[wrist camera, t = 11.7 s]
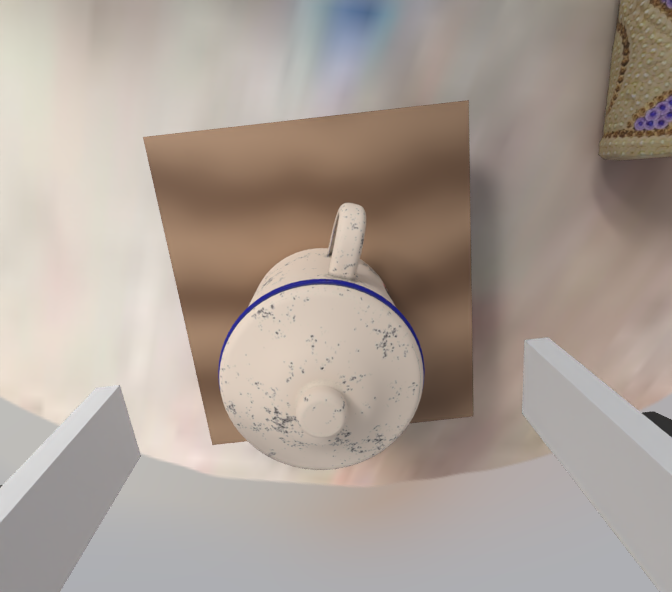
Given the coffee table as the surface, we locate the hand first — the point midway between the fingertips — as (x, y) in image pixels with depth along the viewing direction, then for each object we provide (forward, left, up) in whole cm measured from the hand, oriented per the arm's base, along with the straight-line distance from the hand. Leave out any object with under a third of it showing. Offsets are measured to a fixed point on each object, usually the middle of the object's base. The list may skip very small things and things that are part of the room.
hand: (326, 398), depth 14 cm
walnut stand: (0, 0, -19) cm, 19 cm away
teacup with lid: (0, 0, -13) cm, 13 cm away
